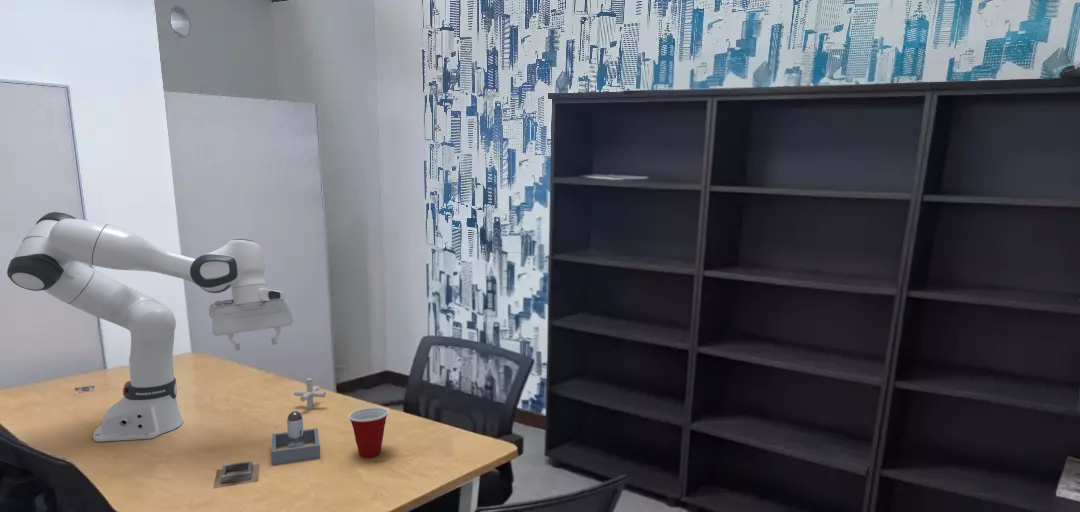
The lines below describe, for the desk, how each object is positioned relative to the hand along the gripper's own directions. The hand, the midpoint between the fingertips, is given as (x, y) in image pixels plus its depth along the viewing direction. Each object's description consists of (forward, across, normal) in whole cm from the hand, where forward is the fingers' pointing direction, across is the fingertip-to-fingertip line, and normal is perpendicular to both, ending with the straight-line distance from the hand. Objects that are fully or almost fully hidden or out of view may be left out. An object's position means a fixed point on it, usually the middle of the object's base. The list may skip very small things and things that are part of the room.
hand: (256, 347), depth 170 cm
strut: (+30, +7, 0) cm, 31 cm away
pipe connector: (+23, +15, +33) cm, 43 cm away
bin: (+31, +7, 0) cm, 32 cm away
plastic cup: (+34, +25, -6) cm, 43 cm away
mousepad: (+6, -57, +83) cm, 101 cm away
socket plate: (+32, -8, -8) cm, 34 cm away
